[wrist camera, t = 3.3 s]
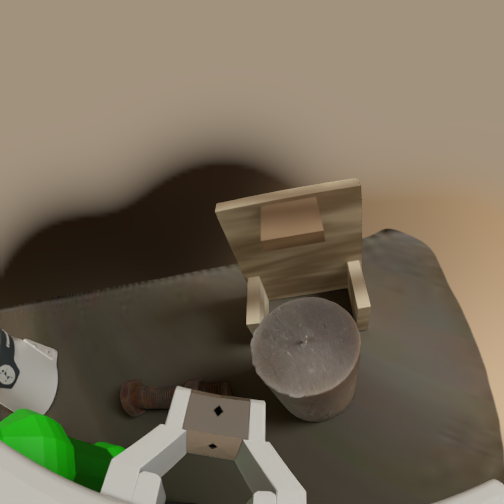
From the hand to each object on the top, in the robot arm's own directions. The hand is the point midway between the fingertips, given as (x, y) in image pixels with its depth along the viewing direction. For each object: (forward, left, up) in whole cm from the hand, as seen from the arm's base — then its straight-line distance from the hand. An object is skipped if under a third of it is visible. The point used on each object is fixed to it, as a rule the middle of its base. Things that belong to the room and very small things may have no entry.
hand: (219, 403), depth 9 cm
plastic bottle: (-21, -14, -27) cm, 37 cm away
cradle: (-5, +19, -27) cm, 34 cm away
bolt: (-18, +1, -28) cm, 33 cm away
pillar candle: (-1, +9, -27) cm, 29 cm away
